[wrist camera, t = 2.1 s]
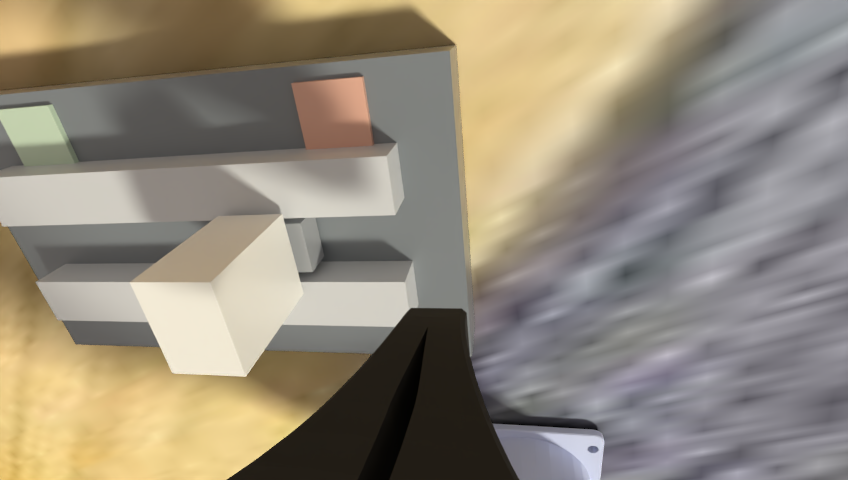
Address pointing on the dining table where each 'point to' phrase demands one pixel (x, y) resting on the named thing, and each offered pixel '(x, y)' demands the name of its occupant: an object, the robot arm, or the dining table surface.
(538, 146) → the dining table surface
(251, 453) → the dining table surface
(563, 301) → the dining table surface
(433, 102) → the panel
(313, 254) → the lever
